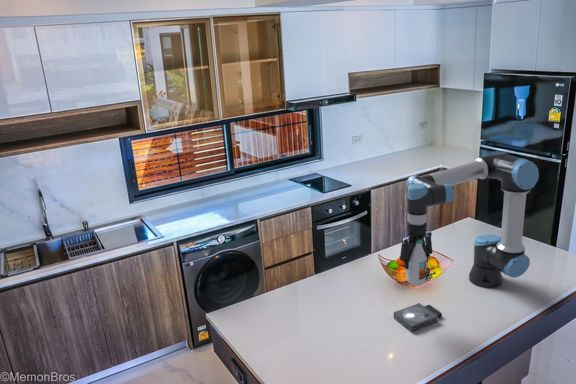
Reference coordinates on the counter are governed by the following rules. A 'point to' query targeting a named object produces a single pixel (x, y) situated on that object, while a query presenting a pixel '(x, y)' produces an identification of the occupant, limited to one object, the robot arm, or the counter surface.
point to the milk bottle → (417, 265)
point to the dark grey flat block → (417, 316)
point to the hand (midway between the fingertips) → (416, 272)
